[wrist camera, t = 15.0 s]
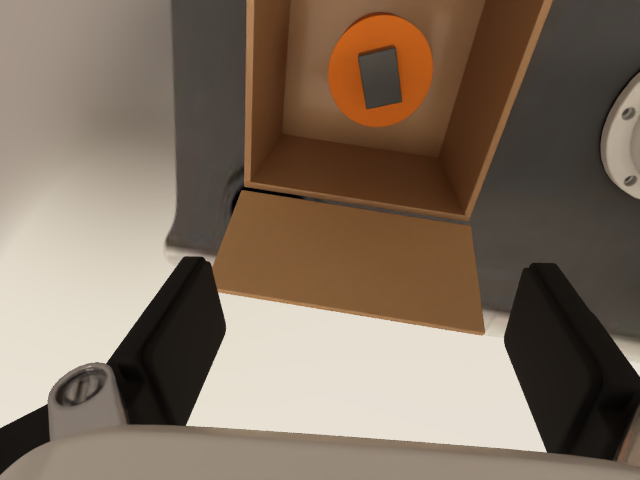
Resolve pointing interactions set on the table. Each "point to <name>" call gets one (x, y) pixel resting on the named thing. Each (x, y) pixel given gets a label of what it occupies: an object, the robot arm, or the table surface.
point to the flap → (351, 262)
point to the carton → (395, 140)
